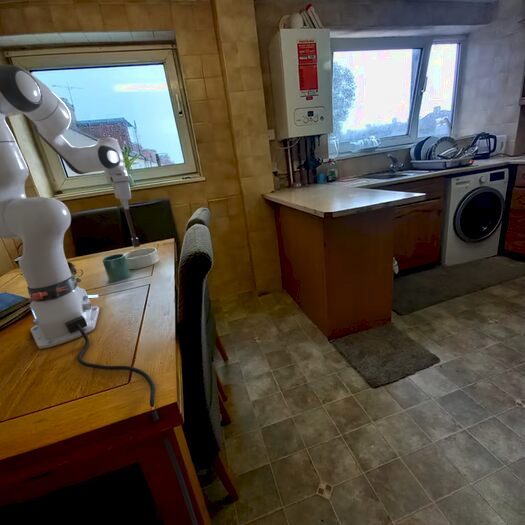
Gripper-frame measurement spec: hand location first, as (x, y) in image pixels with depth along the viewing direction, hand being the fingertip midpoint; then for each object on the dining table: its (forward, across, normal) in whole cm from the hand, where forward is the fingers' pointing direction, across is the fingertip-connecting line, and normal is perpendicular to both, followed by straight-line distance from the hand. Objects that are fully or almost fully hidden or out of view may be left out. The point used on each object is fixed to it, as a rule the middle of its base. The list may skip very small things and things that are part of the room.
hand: (126, 208), depth 127 cm
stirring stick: (+18, 0, 0) cm, 18 cm away
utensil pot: (+27, +13, -12) cm, 32 cm away
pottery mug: (+28, -13, -32) cm, 44 cm away
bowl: (+27, +1, 0) cm, 27 cm away
